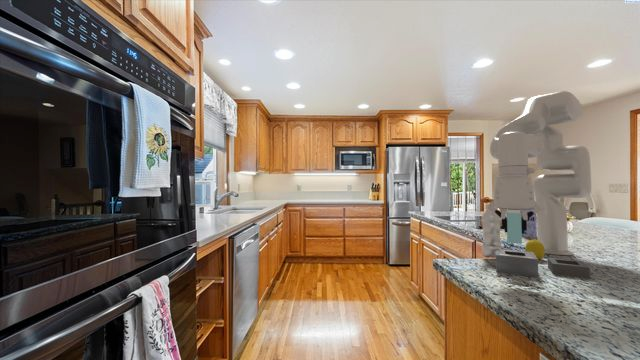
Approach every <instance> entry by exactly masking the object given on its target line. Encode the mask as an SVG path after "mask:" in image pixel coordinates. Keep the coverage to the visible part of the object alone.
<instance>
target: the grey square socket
mask: <svg viewBox="0 0 640 360" xmlns="http://www.w3.org/2000/svg"><path fill="white" fill-rule="evenodd" d="M547 268H548V269H549V271H550V272H551V274H552V275H556V276H557V275H558V276H566V277H574V278H582V279H589V280H590V279H591V269H590V268H591V267H589V266H588V265H587V264H586V263H585V262H583V261H582V260H576V259H575V260H574V259H564V258H555V257H547Z"/></svg>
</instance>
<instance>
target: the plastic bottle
mask: <svg viewBox="0 0 640 360" xmlns="http://www.w3.org/2000/svg"><path fill="white" fill-rule="evenodd" d="M490 204H491V203H485V206H484V209H485V211H484V212H483V214H482V215H481V224H482V232H483V239H482V245H481V246H482V247H481V253H482V255H483V256H484V258H488V259H489V258H496V254H495V249H502V246H501V234H500V233H501V227H502V218H500V217H499V216H498V215H497V214H496V213H494V212H492V211H490V210H489V209H488V207H489V206H490ZM494 208H495V209H497V210H498V208H496V207H495V206H494Z"/></svg>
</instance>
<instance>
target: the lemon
mask: <svg viewBox="0 0 640 360" xmlns="http://www.w3.org/2000/svg"><path fill="white" fill-rule="evenodd" d="M524 251H525V252H533V253H534V254H535V256H536V257H537V259H538V261H539V260H542V259H543V258H544V257H545V254H546V253H545V248H544V246H543V244H542V243H541V242H540V241H537V238H533V239H531V240H528V241H527V242H526V244H525V248H524Z"/></svg>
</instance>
